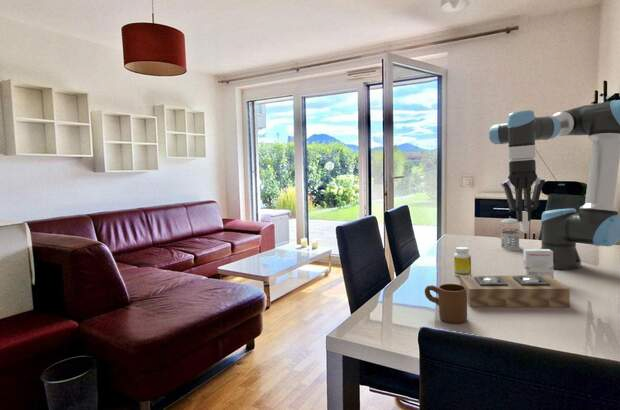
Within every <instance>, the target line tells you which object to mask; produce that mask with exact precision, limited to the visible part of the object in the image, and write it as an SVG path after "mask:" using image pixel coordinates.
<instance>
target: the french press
mask: <svg viewBox="0 0 620 410" xmlns="http://www.w3.org/2000/svg"><path fill="white" fill-rule="evenodd" d="M508 207H509V210H511V209H510V206H509V205H508ZM500 222H501V224H499V225H498V226H497V227H496V229H495V235H496V237H497V238H498V239H500V241H501V246H499V249H500V250H502V251H507V252H509V251H511V252H512V251H513V252H515V251H521V250H522V247H520V232H519V229H518V228H512V227H508V228H507V227H506V228H504V224H509V225H511V224H520V222H518V221H517V219H515V218H512V217H509V218H505V219H502V220H500ZM500 228H502V229H501V230H502V231H501V233H500V234H501V237H500V236H499V229H500Z"/></svg>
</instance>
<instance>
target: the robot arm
mask: <svg viewBox="0 0 620 410" xmlns="http://www.w3.org/2000/svg"><path fill="white" fill-rule="evenodd" d="M565 136H588V139H589V140H590V141H591V142H592V145H591V154H590V162H589V169H588V177H587V184H586V190H585V191H586V193H585V199H584V200H585V201H584V204H583V205H581V206H579V210H578V212H577V210H576V208H571V207H570V208H561V209H560V208H558V209H551V210H545V211H542V212H541V213H542V214H541V220H540V223H541V247H540V249H550V250H551V251H553V270H554V269H555V270H577V269H580V268H581V267H582V260H581V258H580V255H579V252H578V249H577V245H576V244H585V245H591V246H596V247H613V246H615V245H616V244H617V243H619V241H620V215H619V209H617V208H616V207H615V197H616V191H617V184H618V183H617V182H618V175H619V165H620V99H617V100H616V99H613V100H610V101H604V102H603V101H602V102H597V103H591V104H587V105H581V106H577V107H574V108H571V109H568V110H564V111H559V112H556V113H554V114H553V115H549V116H547V115H546V116H538V117H536V115H535V112H534V111H533V110H532V109H531V110H529V109H528V110H520V111H519V110H518V111H514V112H511V113H508V116H507V122H503V123H502V122H501V123H496V124H493V125H492V126H491V127H490V129H489V131H488V137H489V141H490V143H492V144H494V145H506V144H508V160H510V161H509V162H508V172H509V175H508V177H507V180H505V181H502V182H500V186H501V187H502V188H503V189H504V192H505V196H506V199H507V204H508V207H509V206H510V209H509V210H510V211H511V210H512V211H514V212H515V213H516V220H517V221H518V222H519V231H520V232H523V233H528V232H529V223H528V222H531V219H532V214H531V213H532V212H533V211H534V210H537V209H538V206H539V201H540V198H541V192H542V189H543V186H544V185H545V183H546V180H545V179H541V178H539V177H538V174H537V173H536V171H537V170H536V169H537V168H536V167H537V165H536V163H537V162H536V160H535V158H536V141H548V140H553V139H554V138H556V137H565ZM533 184H535V185H534V188H533V191H532V186H533ZM511 185H512V186H513V187H514V192H515V193H514V194H515V198H514V196H513V195H514V194H513V191H512V188H511ZM531 192H533V193H531ZM531 196H532V197H531Z"/></svg>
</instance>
